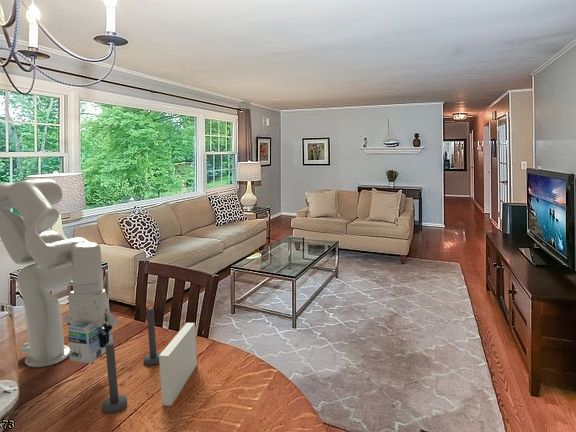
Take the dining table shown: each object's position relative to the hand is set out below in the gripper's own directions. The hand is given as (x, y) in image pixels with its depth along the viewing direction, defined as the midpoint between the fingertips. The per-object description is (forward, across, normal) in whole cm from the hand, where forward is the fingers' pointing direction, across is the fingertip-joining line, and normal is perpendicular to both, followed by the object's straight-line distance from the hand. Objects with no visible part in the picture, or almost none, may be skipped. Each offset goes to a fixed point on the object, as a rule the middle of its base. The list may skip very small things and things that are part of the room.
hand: (92, 344), depth 115 cm
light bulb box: (+3, 0, 0) cm, 3 cm away
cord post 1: (+10, +13, -12) cm, 20 cm away
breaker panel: (+10, +27, 0) cm, 28 cm away
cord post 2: (+10, +13, +11) cm, 20 cm away
